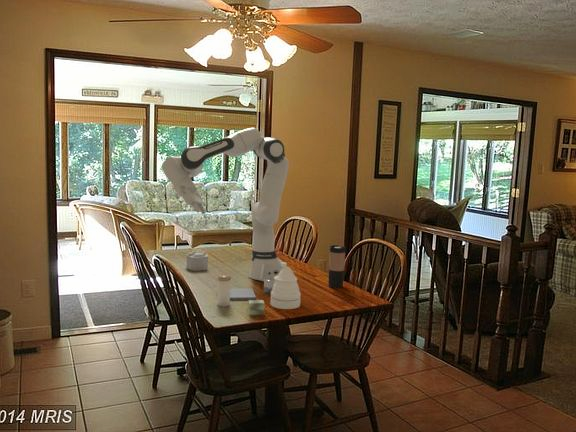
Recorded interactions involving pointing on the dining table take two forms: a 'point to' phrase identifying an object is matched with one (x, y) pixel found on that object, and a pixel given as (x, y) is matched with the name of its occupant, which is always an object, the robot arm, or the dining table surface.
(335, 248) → the travel mug
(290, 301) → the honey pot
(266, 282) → the metal tin
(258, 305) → the sage block
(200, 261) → the lumpy-topped squat cylinder
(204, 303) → the dining table surface
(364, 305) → the dining table surface
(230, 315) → the dining table surface
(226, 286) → the white lidded jar
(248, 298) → the serving board
